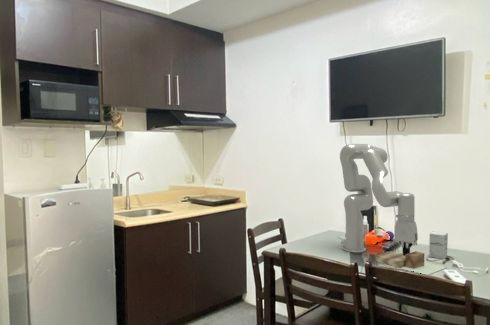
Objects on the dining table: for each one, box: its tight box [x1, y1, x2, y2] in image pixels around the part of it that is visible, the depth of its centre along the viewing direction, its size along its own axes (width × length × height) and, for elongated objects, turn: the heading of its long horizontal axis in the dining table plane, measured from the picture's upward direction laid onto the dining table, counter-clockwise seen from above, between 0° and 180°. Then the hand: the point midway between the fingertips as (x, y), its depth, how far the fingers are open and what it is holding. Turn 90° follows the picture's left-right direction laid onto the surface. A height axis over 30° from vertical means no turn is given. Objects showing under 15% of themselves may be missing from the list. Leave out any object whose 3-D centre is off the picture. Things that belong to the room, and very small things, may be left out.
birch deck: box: [375, 250, 405, 269], centre depth 194 cm, size 14×14×3 cm
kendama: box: [385, 230, 395, 240], centre depth 238 cm, size 6×6×20 cm
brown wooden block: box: [405, 251, 425, 269], centre depth 186 cm, size 6×9×4 cm
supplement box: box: [428, 231, 449, 260], centre depth 203 cm, size 7×7×13 cm
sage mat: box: [399, 261, 447, 276], centre depth 183 cm, size 13×18×1 cm
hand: (406, 255), depth 190 cm, fingers closed
